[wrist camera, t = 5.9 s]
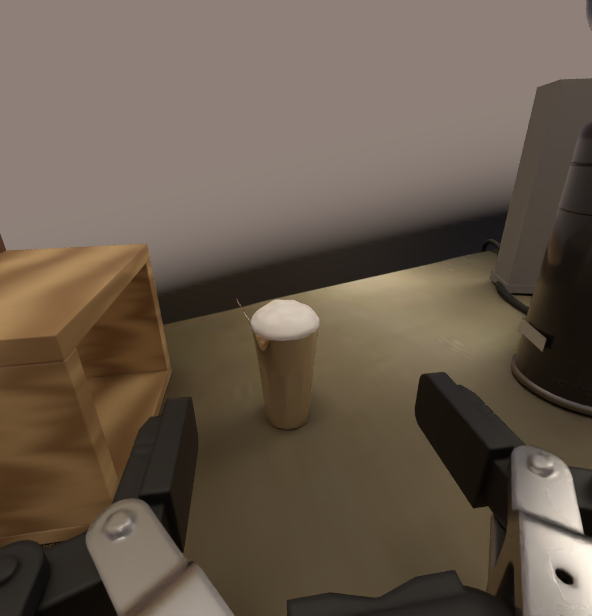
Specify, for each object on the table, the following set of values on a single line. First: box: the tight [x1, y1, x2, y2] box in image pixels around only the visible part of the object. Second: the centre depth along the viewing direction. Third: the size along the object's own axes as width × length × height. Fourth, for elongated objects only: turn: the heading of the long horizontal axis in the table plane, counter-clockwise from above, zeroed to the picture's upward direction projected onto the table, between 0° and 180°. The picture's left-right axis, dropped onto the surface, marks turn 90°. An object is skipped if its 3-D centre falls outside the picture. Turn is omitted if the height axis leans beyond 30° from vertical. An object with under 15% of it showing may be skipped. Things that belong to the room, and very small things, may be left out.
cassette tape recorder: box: [490, 78, 592, 294], centre depth 44 cm, size 14×6×25 cm, turn 82°
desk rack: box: [0, 235, 172, 548], centre depth 22 cm, size 11×15×14 cm
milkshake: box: [236, 299, 319, 430], centre depth 24 cm, size 4×5×10 cm
